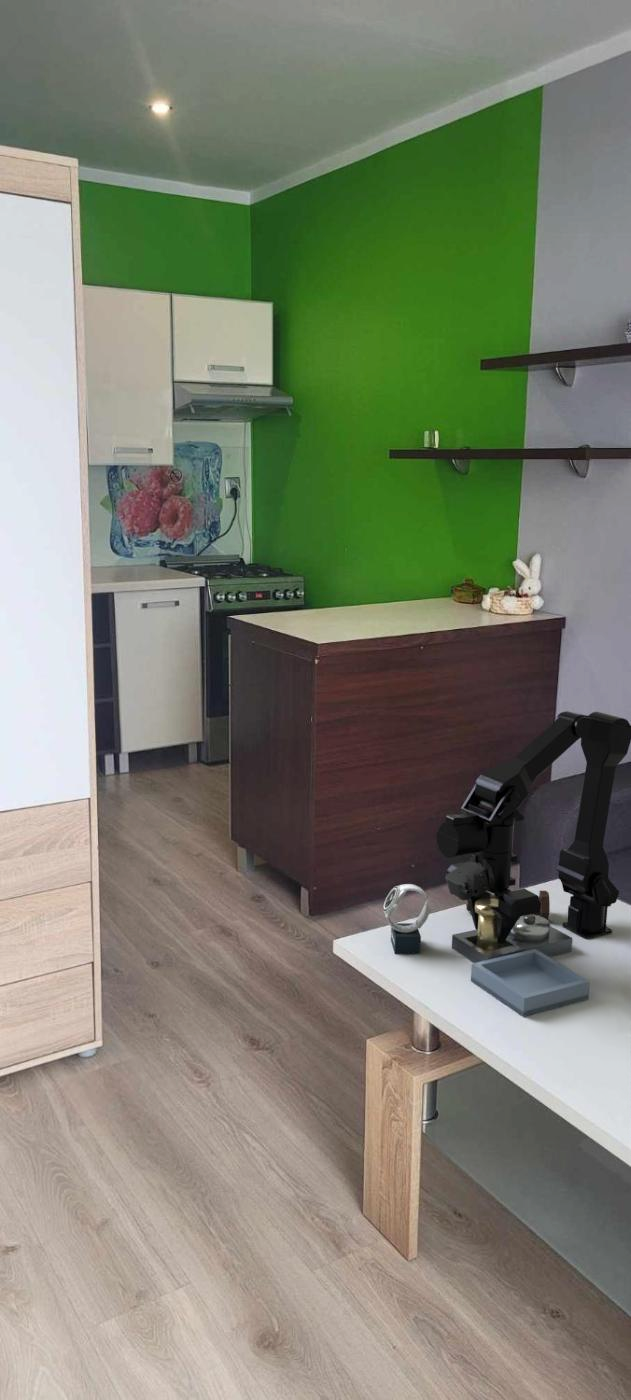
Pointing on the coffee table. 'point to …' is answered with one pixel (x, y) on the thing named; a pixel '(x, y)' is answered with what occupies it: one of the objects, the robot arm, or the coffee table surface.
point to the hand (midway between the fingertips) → (489, 935)
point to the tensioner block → (516, 940)
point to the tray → (530, 982)
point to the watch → (405, 934)
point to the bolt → (544, 904)
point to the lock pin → (487, 924)
